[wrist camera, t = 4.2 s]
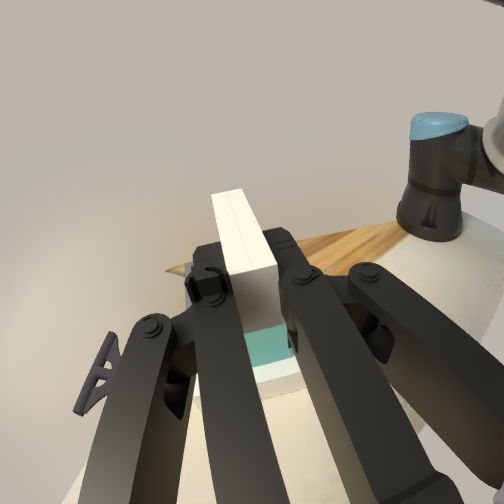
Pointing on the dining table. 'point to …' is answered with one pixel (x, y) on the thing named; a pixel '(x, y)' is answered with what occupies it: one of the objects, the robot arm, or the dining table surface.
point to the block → (268, 345)
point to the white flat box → (271, 379)
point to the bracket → (99, 375)
